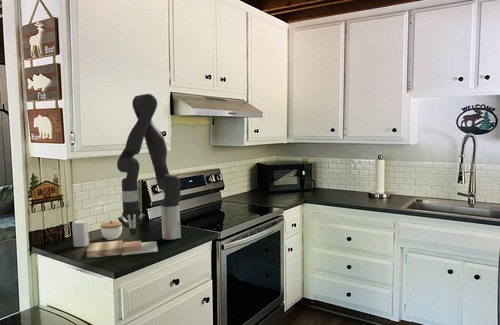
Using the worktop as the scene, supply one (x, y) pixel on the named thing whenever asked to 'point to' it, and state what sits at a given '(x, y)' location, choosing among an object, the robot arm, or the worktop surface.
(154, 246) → the sage mat
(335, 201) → the worktop surface
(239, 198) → the worktop surface
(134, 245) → the terracotta coaster
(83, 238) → the skincare box
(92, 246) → the oak board
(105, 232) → the lidded jar
